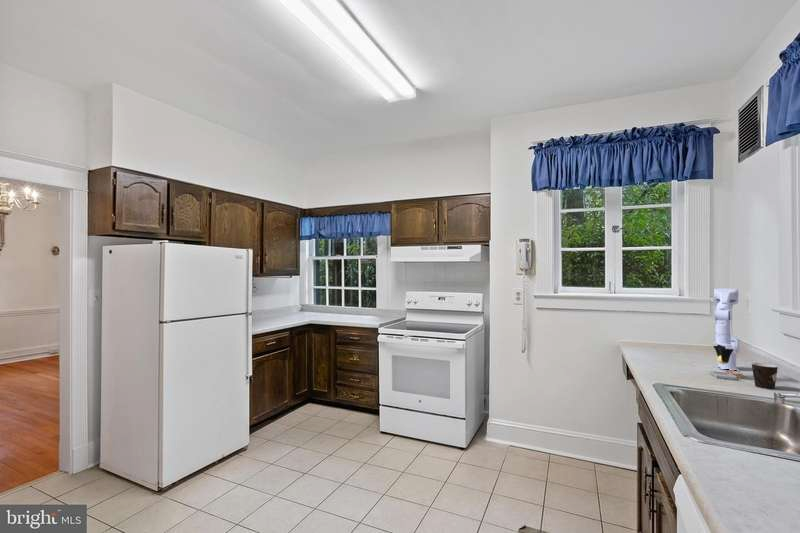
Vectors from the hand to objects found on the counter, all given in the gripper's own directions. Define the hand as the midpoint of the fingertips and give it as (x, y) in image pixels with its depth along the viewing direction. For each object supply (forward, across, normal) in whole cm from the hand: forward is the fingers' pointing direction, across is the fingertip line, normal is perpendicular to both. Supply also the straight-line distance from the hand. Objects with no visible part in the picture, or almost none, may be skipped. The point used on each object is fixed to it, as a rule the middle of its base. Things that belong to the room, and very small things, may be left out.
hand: (723, 361), depth 189 cm
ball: (-1, 0, 0) cm, 1 cm away
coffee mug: (+8, +15, +9) cm, 19 cm away
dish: (+8, -8, +6) cm, 13 cm away
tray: (+8, 0, 0) cm, 8 cm away
